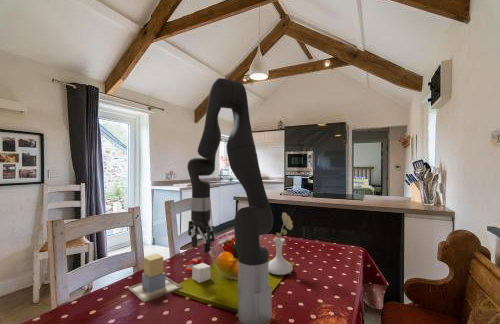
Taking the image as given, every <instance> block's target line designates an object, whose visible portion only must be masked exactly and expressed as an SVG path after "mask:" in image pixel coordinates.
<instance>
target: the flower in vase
mask: <svg viewBox="0 0 500 324" xmlns="http://www.w3.org/2000/svg"><path fill="white" fill-rule="evenodd" d="M281 219H282V222H283V224H282V227H281V230H280V233H279V232H276V233H275V236H278V237H275V238H273V239H272V240H273V242H274V243H275V248H276V254H275V257H273V259H272V260H270V261H269V273H270V274H273V275H276V276H284V275H288V274H291V272H293V269H294V268H293V265H292V264H291V263H290V262H289V261H287V260H286V258H284V257H283V253H282V252H283V244H284V242H285V240H286V239H285V238H283V237H281V236H282V234H283V235H284V236H286V235H288V231H287V230H286V229H288V230H289V231H292V230H293V228H294V226H293V223H294V222H293V220H292V219H291V217H290V215H288V213H286V212H282V215H281ZM284 226H285V227H286V229H285V228H284Z"/></svg>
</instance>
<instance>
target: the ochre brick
mask: <svg viewBox="0 0 500 324" xmlns="http://www.w3.org/2000/svg"><path fill="white" fill-rule="evenodd" d="M163 272H164V256H162V255H161V254H158V253H154V254H151V255H147V256H144V257H143V273H144V274H145V275H147V276H148V277H150V278H151V277H154V276H157V275H160V274H163Z"/></svg>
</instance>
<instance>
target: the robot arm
mask: <svg viewBox="0 0 500 324" xmlns="http://www.w3.org/2000/svg"><path fill="white" fill-rule="evenodd" d="M211 84H212V85H211V87H210V90H209V94H208V101H207V107H206V111H205V112H206V113H205V121H204V126H203V127H204V128H203V131H202V134H201V138H200V141H199V143H198V147H197V153H198V155H199V156H200V157H193V158H190V159H189V161H188V162H187V172H188V175H189V178H190V184H191V203H190V207H191V208H190V220H189V221H188V228H187V229H188V230H187V234H188V236H189V237H190V238H191V248H196V247H198V236H200V237H201V239H202V240H203V242H204V245H203V247H204V249H203V250H204V251H203V252H204V253H205V254H208V253H210V252H211V243H213V242H215V226H214V225H209V222H210V220H211V217H212V216H211V215H212V214H211V213H212V212H211V210H212V209H211V205H212V204H211V203H212V202H211V184H210V183H209V182H207V181H203V180H201V178H200V177H204V176H211V175H212V174H214V172H215V170H216V169H215V168H216V158H217V157H216V156H217V152H218V149H219V146H220V144H221V139H222V133H221V129H220V128H221V127H220V124H219V113H220V111H221V109H229V110H230V109H231V112H232V117H233V126H232V129H231V132H230V134H229V136H228V138H227V142H226V153H227V159H228V164H229V167H230V170H231V171H232V173H233V175H234V176H235V178H236V179H237V180H238V182H239V183H240V185H241V186H242V188H243V190H244V193H245V195H246V198H247V199H246V200H247V203H248V206H244V207H241V208H240V209H238V210H237V212H236V213H235V216H234V219H233V220H234V221H233V227H234V228H233V229H234V231H233V232H234V246H235V251H236V255H237V319H238V321H239V322H240V323H241V324H266V323H268V322H270V321H271V320H272V317H273V316H272V311H273V310H272V286H270V283H269V282H270V281H269V279H270V278H269V277H270V275H269V273H270V272H269V262H270V261H269V259H270V258H269V254H270V253H269V251H268V249H267V248H266V247H263V246H261V245H260V236H264V235H266V234H269V233H270V232H271V231H272V229H273V226H274V215H273V212H272V208H271V204H270V201H269V199H268V196H267V193H266V189H265V185H264V181H263V177H262V173H261V169H260V165H259V159H258V158H259V157H258V154H257V149H256V145H255V141H254V137H253V136H254V135H253V131H252V127H251V125H252V124H251V120H250V113H249V112H250V111H249V103H248V96H247V95H248V94H247V91H246V90H247V89H246V87H245V85H244V83H242V82H240V81H238V80H233V79H227V78H219V77H218V78H216V79H215V80H214V81H213V82H212V83H211Z"/></svg>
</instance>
